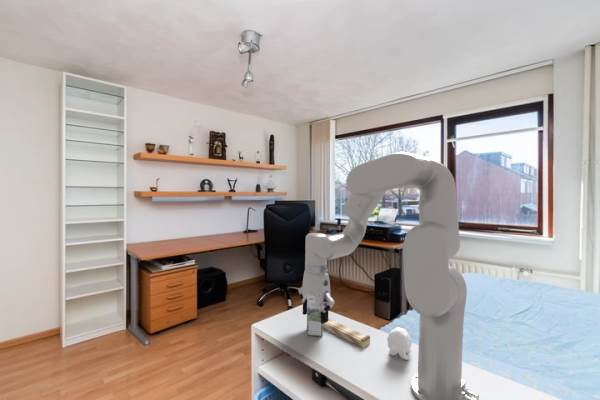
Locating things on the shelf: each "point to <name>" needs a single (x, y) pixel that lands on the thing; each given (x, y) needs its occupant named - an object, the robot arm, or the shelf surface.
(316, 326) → the syrup box
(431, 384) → the robot arm
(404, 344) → the white figurine
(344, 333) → the plank
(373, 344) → the shelf surface
